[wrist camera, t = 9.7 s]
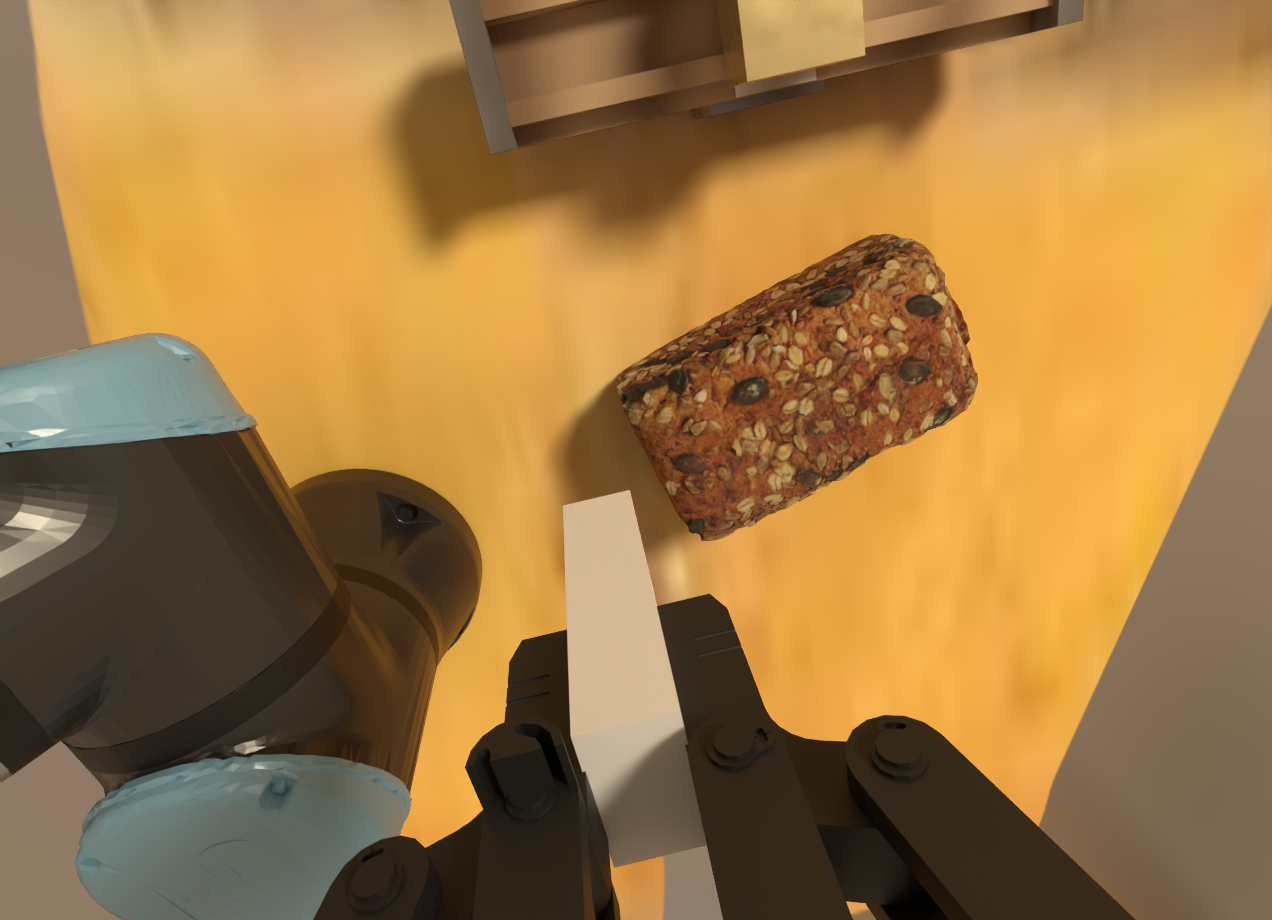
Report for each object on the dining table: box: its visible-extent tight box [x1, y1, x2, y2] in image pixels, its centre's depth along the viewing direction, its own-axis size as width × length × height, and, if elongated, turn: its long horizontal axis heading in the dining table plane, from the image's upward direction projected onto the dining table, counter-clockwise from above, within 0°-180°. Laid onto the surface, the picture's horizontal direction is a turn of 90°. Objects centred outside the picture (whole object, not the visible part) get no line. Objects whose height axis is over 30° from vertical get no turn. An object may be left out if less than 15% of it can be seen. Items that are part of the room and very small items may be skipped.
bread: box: [617, 234, 978, 541], centre depth 41 cm, size 19×11×10 cm, turn 117°
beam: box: [449, 0, 1084, 154], centre depth 34 cm, size 28×8×8 cm, turn 102°
